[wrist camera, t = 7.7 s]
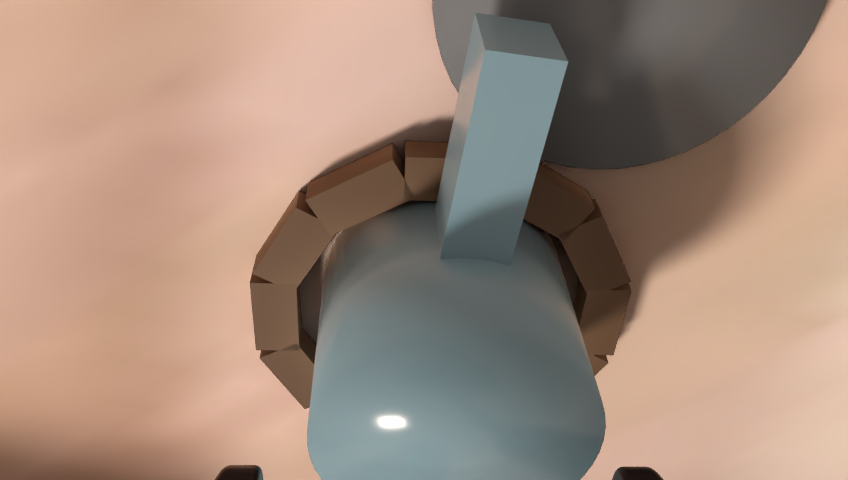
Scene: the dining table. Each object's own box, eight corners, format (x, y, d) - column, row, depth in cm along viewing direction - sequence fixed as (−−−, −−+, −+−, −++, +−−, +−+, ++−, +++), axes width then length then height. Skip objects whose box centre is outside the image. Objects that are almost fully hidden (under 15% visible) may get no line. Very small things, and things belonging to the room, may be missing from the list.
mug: (528, 377, 24) (561, 536, 19) (314, 359, 23) (297, 521, 18) (648, 22, 17) (740, 139, 13) (355, -23, 16) (345, 87, 12)
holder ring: (657, 149, 19) (666, 165, 18) (583, 424, 25) (588, 443, 24) (243, 135, 18) (237, 151, 18) (267, 422, 24) (264, 442, 24)
